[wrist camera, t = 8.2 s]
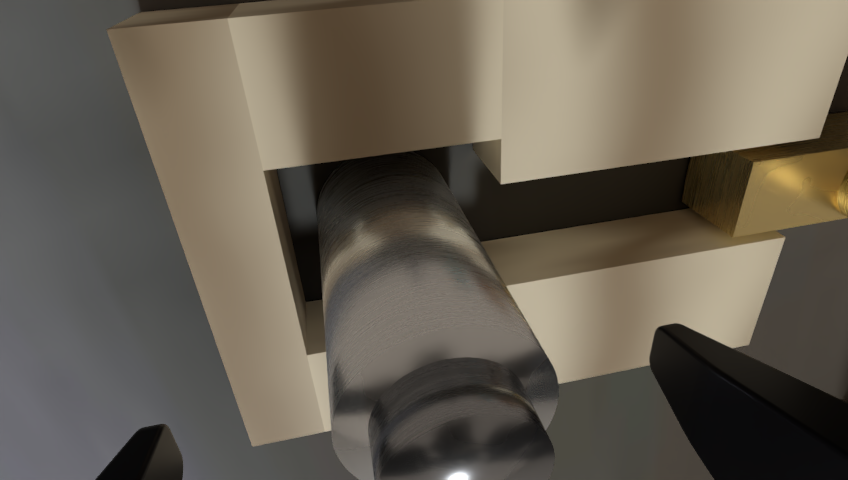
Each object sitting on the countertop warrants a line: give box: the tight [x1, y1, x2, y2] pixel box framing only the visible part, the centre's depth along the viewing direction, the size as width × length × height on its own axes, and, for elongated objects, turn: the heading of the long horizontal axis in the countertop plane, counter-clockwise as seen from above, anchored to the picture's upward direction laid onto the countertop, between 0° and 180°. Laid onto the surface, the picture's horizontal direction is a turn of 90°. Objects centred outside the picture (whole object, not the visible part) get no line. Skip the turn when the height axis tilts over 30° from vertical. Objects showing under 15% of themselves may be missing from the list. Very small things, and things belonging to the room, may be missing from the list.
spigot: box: [317, 151, 559, 480], centre depth 12 cm, size 4×4×9 cm
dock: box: [107, 0, 848, 447], centre depth 15 cm, size 17×12×2 cm
